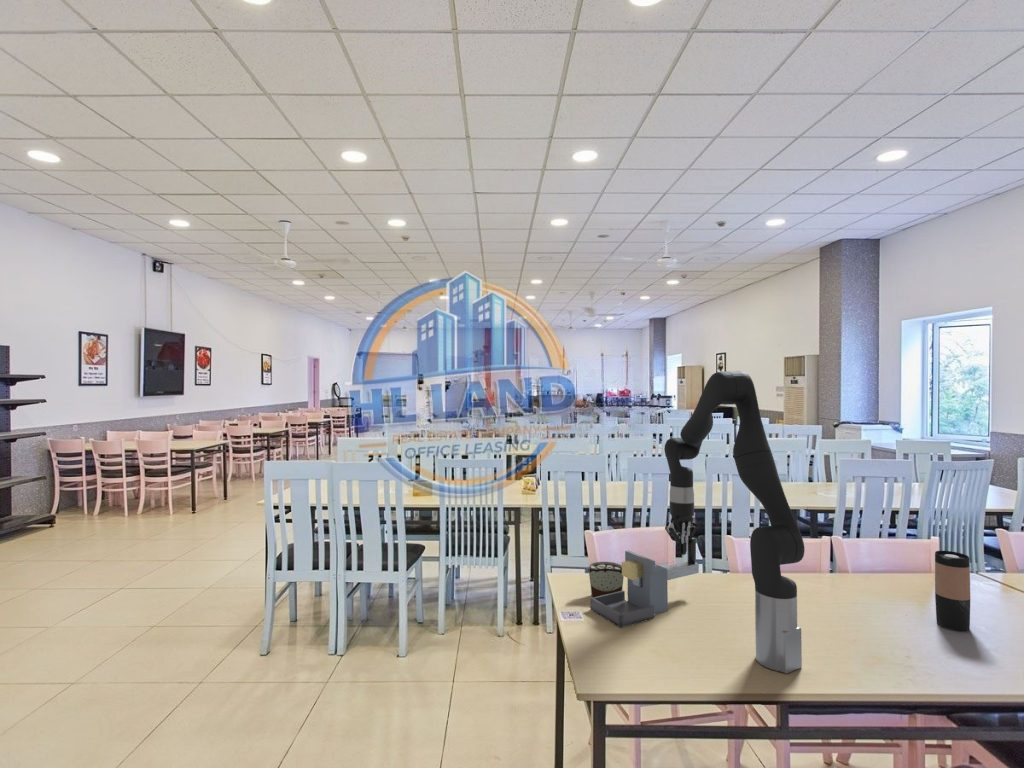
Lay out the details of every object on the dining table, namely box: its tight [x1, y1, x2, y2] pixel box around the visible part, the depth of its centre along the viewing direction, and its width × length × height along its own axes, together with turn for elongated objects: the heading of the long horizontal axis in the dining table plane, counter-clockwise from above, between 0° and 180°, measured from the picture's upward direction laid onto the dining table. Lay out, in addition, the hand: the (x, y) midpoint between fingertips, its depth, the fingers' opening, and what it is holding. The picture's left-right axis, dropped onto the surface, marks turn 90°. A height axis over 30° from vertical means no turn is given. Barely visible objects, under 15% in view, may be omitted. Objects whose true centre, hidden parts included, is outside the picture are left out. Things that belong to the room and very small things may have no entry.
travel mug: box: [934, 550, 971, 633], centre depth 148 cm, size 8×8×20 cm
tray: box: [590, 590, 655, 629], centre depth 157 cm, size 14×13×4 cm
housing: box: [624, 550, 669, 615], centre depth 162 cm, size 12×7×16 cm, turn 28°
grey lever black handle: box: [633, 536, 700, 587], centre depth 166 cm, size 3×25×11 cm, turn 118°
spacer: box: [621, 560, 643, 580], centre depth 160 cm, size 4×4×4 cm
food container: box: [586, 561, 625, 598], centre depth 172 cm, size 12×6×10 cm, turn 84°
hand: (682, 554), depth 169 cm, fingers closed
